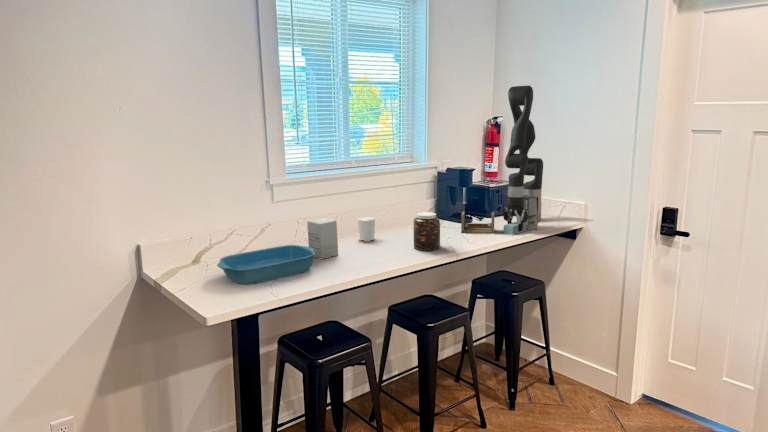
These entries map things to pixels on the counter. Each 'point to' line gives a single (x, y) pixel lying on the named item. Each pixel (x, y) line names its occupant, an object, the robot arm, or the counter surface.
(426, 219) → the jar
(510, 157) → the robot arm
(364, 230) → the white cup
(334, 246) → the supplement box
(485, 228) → the shelf rack
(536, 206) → the coffee box
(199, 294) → the counter surface
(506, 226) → the light teal block
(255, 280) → the casserole dish
